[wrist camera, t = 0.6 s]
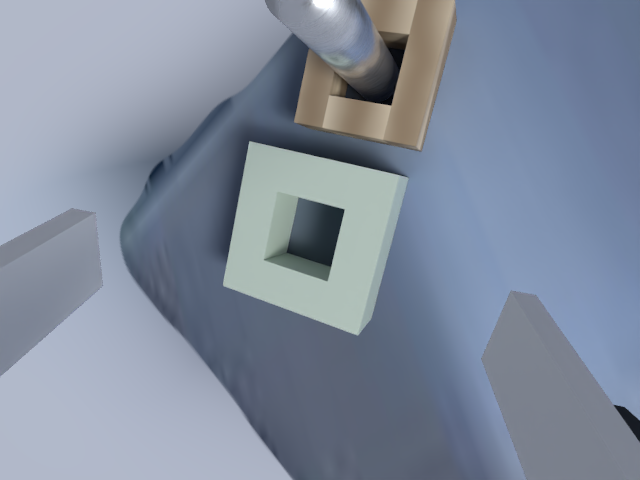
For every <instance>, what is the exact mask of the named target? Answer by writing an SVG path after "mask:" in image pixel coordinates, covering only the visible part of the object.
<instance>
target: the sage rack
mask: <svg viewBox="0 0 640 480" xmlns="http://www.w3.org/2000/svg"><path fill="white" fill-rule="evenodd" d="M408 179H409V178H408V177H404V176H400V175H396V174H392V173H387V172H383V171H379V170H374V169H370V168H365V167H361V166H357V165H352V164H348V163H343V162H339V161H334V160H330V159H326V158H321V157H317V156H312V155H308V154H304V153H299V152H295V151H290V150H286V149H281V148H277V147H273V146H268V145H264V144H259V143H255V142H251V141H249V146H248V152H247V157H246V162H245V168H244V173H243V179H242V184H241V190H240V195H239V200H238V206H237V211H236V217H235V222H234V228H233V233H232V238H231V244H230V249H229V255H228V260H227V266H226V271H225V276H224V282H223V286H225V287H228V288H231V289H233V290H236V291H239V292H242V293H244V294H247V295H250V296H252V297H255V298H258V299H260V300H263V301H266V302H269V303H271V304H274V305H277V306H279V307H282V308H285V309H288V310H290V311H293V312H296V313H298V314H301V315H304V316H306V317H309V318H312V319H315V320H317V321H320V322H323V323H325V324H328V325H331V326H334V327H336V328H339V329H342V330H344V331H347V332H350V333H352V334H355V335H359V333H360V332H361V331H362V330H363V328H364V327H365V326H366V325H367V323H368V322H369V321H370V320H371V318H372V314H373V310H374V307H375V303H376V299H377V295H378V291H379V288H380V284H381V280H382V276H383V273H384V269H385V265H386V261H387V258H388V254H389V250H390V246H391V243H392V239H393V235H394V231H395V228H396V224H397V220H398V216H399V213H400V209H401V205H402V201H403V197H404V194H405V190H406V186H407V182H408ZM299 197H300V198H304V199H308V200H311V201H315V202H319V203H323V204H326V205H330V206H334V207H338V208H342V209H345V211H344V215H343V220H342V224H341V228H340V232H339V236H338V241H337V245H336V249H335V253H334V257H333V262H332V266H331V267H329V266H326V265H323V264H320V263H317V262H314V261H311V260H308V259H304V258H301V257H298V256H295V255H292V254H289V253H287V249H288V245H289V240H290V235H291V231H292V226H293V221H294V216H295V212H296V207H297V202H298V198H299Z"/></svg>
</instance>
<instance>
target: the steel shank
mask: <svg viewBox="0 0 640 480" xmlns="http://www.w3.org/2000/svg"><path fill="white" fill-rule="evenodd" d="M265 2H266V4H267V6H268V8H269V10H270V11H271V13H272V14H273V15H274V16H275V17H276V18H277V19H279V20H280V21H281V22H282V23H283V24H284V25H285V26H286V27H287V28H289V30H291V31H292V32H293V33H294V34H295V35H296V36H297V37H298V38H299V39H300V40H301V41H303V42H304V43H305V44H306V45H307V46H308V47H309V48H310V49H311V50H312V51H313V52H315V53H316V54H317V55H318V56H319V57H320V58H321V59H322V60H323V61H324V62H326V63H327V64H328V65H329V66H330V67H331V68H332V69H333V70H334V71H335V72H336V73H338V74H339V75H340V76H341V77H342V78H343V79H344V80H345V81H346V82H347V83H348V84H350V85H351V86H352V87H353V88H354V89H355V90H356V91H357V92H358V93H359V94H361V95H362V96H363V97H364V98H365V99H367V100H369V101H372V102H380V101H384V100H386V99H388V98H389V97H390V96H392V95H393V94H394V92H395V89H396V85H397V81H398V77H399V73H400V71H399V68H398V66H397V64H396V62H395V61H394V59H393V57H392V55H391V54H390V52H389V50H388V48H387V46H386V45H385V43H384V41H383V39H382V38H381V36H380V34H379V32H378V30H377V29H376V27H375V25H374V23H373V22H372V20H371V18H370V16H369V14H368V13H367V11H366V9H365V7H364V6H363V4H362V2H361V0H265Z"/></svg>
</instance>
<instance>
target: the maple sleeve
mask: <svg viewBox="0 0 640 480" xmlns="http://www.w3.org/2000/svg"><path fill="white" fill-rule="evenodd" d="M361 2H362V4H363V6H364V7H365V9H366V11H367V13H368V14H369V16H370V18H371V20H372V22H373V23H374V25H375V27H376V29H377V30H378V32H379V34H380V36H381V38H382V39H383V41H384V43H385V45H386V46H387V48H393V49H401V50H405V53H404V57H403V61H402V65H401V69H400V73H399V77H398V81H397V85H396V89H395V93H394V97H393V101H392V106H390V105H384V104H378V103H372V102H366V101H360V100H355V99H349V98H345V95H346V90H347V86H348V83H347V82H346V81H345V80H344V79H343V78H342V77H341V76H340V75H339V74H338V73H336V72H335V71H334V70H333V69H332V68H331V67H330V66H329V65H328V64H327V63H326V62H324V61H323V60H322V59H321V58H320V57H319V56H318V55H317V54H316V53H315V52H313V51H312V50H311V49H310V48H309V51H308V56H307V61H306V66H305V71H304V75H303V80H302V85H301V90H300V95H299V100H298V105H297V110H296V115H295V120H294V122H295V123H298V124H300V125H302V126H305V127H307V128H310V129H313V130H318V131H323V132H328V133H333V134H338V135H343V136H348V137H353V138H357V139H362V140H367V141H372V142H377V143H382V144H387V145H392V146H397V147H402V148H407V149H412V150H416V151H421V152H422V148H423V144H424V140H425V137H426V133H427V129H428V126H429V122H430V118H431V114H432V111H433V107H434V103H435V99H436V96H437V92H438V88H439V85H440V81H441V77H442V73H443V70H444V66H445V62H446V59H447V55H448V51H449V47H450V44H451V40H452V36H453V32H454V29H455V25H456V8H455V0H361Z"/></svg>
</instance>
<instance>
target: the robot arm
mask: <svg viewBox="0 0 640 480" xmlns="http://www.w3.org/2000/svg"><path fill="white" fill-rule="evenodd" d="M95 214H96V213H94V212H88V211H83V210H78V209H73V208H72V209H70V210H68V211H66V212H64V213H63V214H60V215H58V216H56V217H55V218H53V219H51V220H49V221H47V222H45V223H43V224H41V225H39V226H37V227H35V228H34V229H32V230H30V231H28V232H26V233H24V234H22V235H20V236H18V237H16V238H14V239H13V240H11V241H9V242H7V243H5V244H3V245H1V246H0V376H1V375H3V374H4V373H5V372H6V371H7V370H8V369H9V368H10V367H12V366H13V365H14V364H15V363H16V362H17V361H18V360H20V359H21V358H22V357H23V356H24V355H25V354H26V353H28V352H29V351H30V350H31V349H32V348H33V347H34V346H35V345H37V344H38V343H39V342H40V341H41V340H42V339H43V338H44V337H46V336H47V335H48V334H49V333H50V332H51V331H53V330H54V329H55V328H56V327H57V326H58V325H59V324H60V323H61V322H63V321H64V320H65V319H66V318H67V317H68V316H70V314H72V313H73V312H74V311H75V310H76V309H77V308H79V307H80V306H81V305H82V304H83V303H84V302H85V301H87V300H88V299H89V298H90V297H91V296H92V295H93V294H95V293H96V292H97V291H98V290H99V289H100V288H101V287H102V286H103V282H102V272H101V262H100V253H99V244H98V233H97V224H96V215H95ZM481 360H482V362H483V365H484V368H485V370H486V373H487V376H488V378H489V381H490V384H491V386H492V389H493V391H494V394H495V397H496V399H497V402H498V405H499V407H500V410H501V413H502V415H503V418H504V421H505V423H506V426H507V429H508V431H509V434H510V436H511V439H512V442H513V444H514V447H515V450H516V452H517V455H518V458H519V460H520V463H521V466H522V468H523V471H524V474H525V476H526V479H527V480H640V421H639V420H638V419H637V418H636V417H635V416H634V415H633V414H632V413H630V412H629V411H628V410H627V409H626V408H625V407H621V406H616V405H613V404H612V402H611V401H610V399H609V398H608V397H607V395H606V394H605V392H604V391H603V390H602V388H601V387H600V385H599V384H598V382H597V381H596V380H595V378H594V377H593V375H592V374H591V373H590V371H589V370H588V368H587V367H586V365H585V364H584V363H583V361H582V360H581V358H580V357H579V356H578V354H577V353H576V351H575V350H574V348H573V347H572V346H571V344H570V343H569V341H568V340H567V338H566V337H565V336H564V334H563V333H562V331H561V330H560V329H559V327H558V326H557V324H556V323H555V321H554V320H553V319H552V317H551V316H550V314H549V313H548V312H547V310H546V309H545V307H544V306H543V304H542V303H541V302H540V300H539V299H538V297H537V296H536V295H532V294H527V293H521V292H516V291H511V292H510V294H509V296H508V298H507V301H506V303H505V305H504V308H503V310H502V312H501V315H500V317H499V319H498V321H497V324H496V326H495V328H494V331H493V333H492V335H491V338H490V340H489V342H488V344H487V347H486V349H485V351H484V354H483V356H482V358H481Z"/></svg>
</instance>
